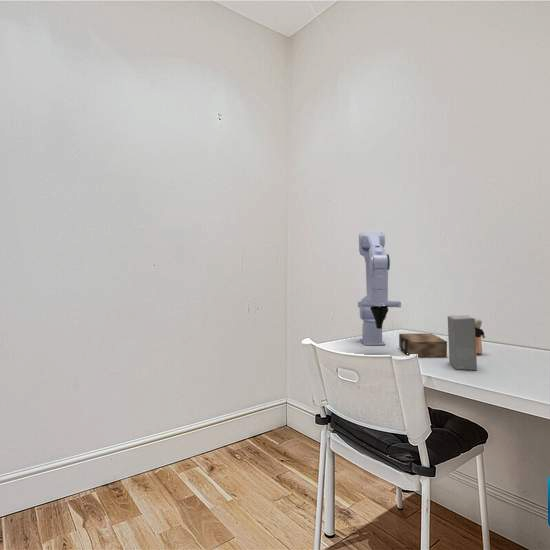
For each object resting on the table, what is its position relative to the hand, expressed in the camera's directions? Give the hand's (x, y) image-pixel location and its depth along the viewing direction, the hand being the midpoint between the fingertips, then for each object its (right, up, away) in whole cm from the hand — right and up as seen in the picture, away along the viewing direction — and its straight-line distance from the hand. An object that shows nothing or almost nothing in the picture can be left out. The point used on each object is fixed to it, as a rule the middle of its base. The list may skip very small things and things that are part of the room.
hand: (379, 328), depth 143 cm
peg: (+16, -8, +3) cm, 18 cm away
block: (+16, -9, +3) cm, 19 cm away
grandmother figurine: (+34, -9, 0) cm, 35 cm away
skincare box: (+22, -10, -14) cm, 28 cm away
